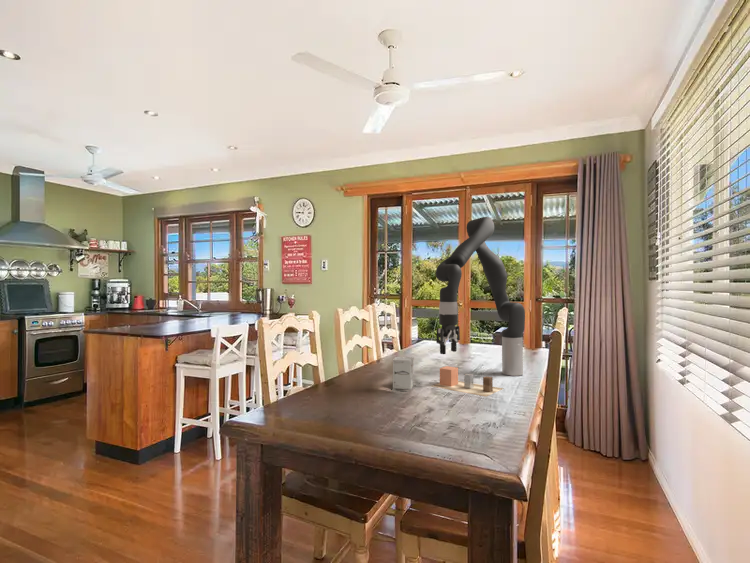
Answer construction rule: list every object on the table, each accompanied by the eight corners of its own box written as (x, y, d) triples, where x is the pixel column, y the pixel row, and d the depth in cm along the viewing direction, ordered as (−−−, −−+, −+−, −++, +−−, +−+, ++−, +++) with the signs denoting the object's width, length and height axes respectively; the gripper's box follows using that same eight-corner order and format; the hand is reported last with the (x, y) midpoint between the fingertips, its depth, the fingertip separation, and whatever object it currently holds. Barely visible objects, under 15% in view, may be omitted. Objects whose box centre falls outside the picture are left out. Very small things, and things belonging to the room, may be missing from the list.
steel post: (467, 386, 165) (467, 373, 165) (473, 387, 163) (473, 374, 163) (464, 387, 163) (464, 374, 163) (470, 388, 161) (470, 375, 161)
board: (449, 382, 177) (449, 379, 177) (503, 391, 161) (503, 388, 161) (430, 389, 166) (430, 386, 166) (486, 399, 150) (486, 396, 150)
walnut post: (486, 389, 159) (486, 376, 159) (492, 390, 158) (492, 377, 158) (483, 391, 157) (483, 377, 157) (489, 392, 156) (489, 378, 156)
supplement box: (392, 391, 162) (392, 359, 162) (395, 386, 170) (395, 356, 170) (411, 392, 161) (410, 360, 161) (413, 387, 168) (413, 356, 168)
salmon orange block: (446, 381, 172) (446, 366, 172) (458, 383, 169) (458, 367, 169) (439, 384, 168) (439, 368, 168) (451, 386, 165) (451, 369, 165)
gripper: (449, 311, 177) (449, 349, 177) (431, 313, 166) (430, 353, 166) (465, 312, 172) (465, 351, 172) (447, 314, 161) (447, 356, 161)
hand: (448, 352), depth 169 cm, fingers open, 8 cm apart
